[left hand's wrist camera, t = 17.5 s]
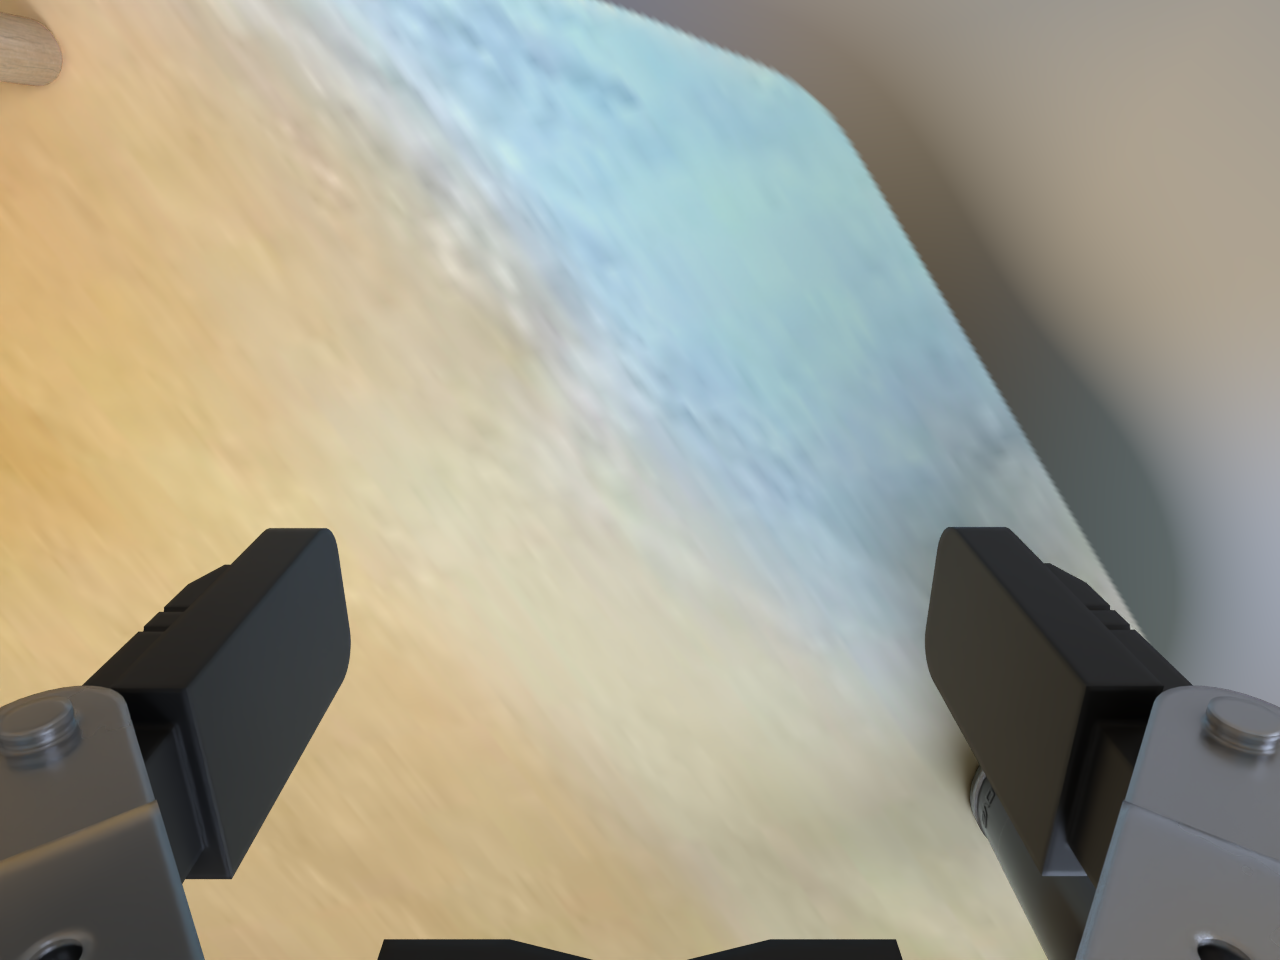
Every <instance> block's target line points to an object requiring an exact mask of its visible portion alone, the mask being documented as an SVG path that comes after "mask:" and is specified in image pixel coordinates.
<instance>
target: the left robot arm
mask: <svg viewBox="0 0 1280 960" xmlns="http://www.w3.org/2000/svg"><path fill="white" fill-rule="evenodd" d="M350 647H351V639H350V628H349V622H348V615H347V608H346V601H345V595H344V588H343V581H342V574H341V568H340V561H339V554H338V548H337V543H336V540H335V537H334V535H333V534H332V532H331V531H330V530H329V529H327V528H269V529H266V530H265V531H264V532H263V533H262V534H261V535H260V536H259V537H258V538H257V539H256V540H255V541H254V542H253V543H252V544H251V545H250V546H249V547H248V548H247V549H246V550H245V551H244V552H243V553H242V554H241V555H240V556H239V557H238V558H237V559H236V560H235V561H234V562H233V563H232V564H231V565H223V566H222V567H220V568H218V569H216V570H214V571H212V572H210V573H208V574H207V575H205V576H203V577H201V578H199V579H197V580H195V581H193V582H192V583H190V584H188V585H187V586H186V587H185V588H184V589H183V590H182V591H181V592H180V593H179V594H177V595H176V596H175V597H174V598H173V599H172V600H171V601H170V602H169V603H168V604H167V605H166V606H165V607H164V612H159V613H158V614H157V615H155V616H154V617H153V618H152V619H151V620H150V621H149V622H148V623H147V624H146V625H145V626H144V631H143V632H138V633H137V634H136V635H135V636H133V637H132V638H131V639H130V640H129V641H128V642H127V643H126V644H125V645H124V646H123V647H122V648H121V649H120V650H119V651H118V652H117V653H116V654H115V655H114V656H113V657H111V658H110V659H109V660H108V661H107V662H106V663H105V664H104V665H103V666H102V667H101V668H100V669H99V670H98V671H97V672H96V673H95V674H94V675H93V676H92V677H91V678H89V679H88V680H87V681H86V682H85V683H84V684H83V685H82V686H72V687H63V688H58V689H53V690H48V691H45V692H41V693H37V694H33V695H31V696H28V697H25V698H22V699H19V700H16V701H14V702H12V703H9V704H7V705H4V706H2V707H0V960H205V959H204V956H203V952H202V949H201V946H200V942H199V939H198V936H197V932H196V929H195V926H194V922H193V919H192V916H191V912H190V909H189V906H188V902H187V899H186V896H185V892H184V889H183V886H182V883H183V882H184V880H185V879H232V878H233V876H234V874H235V872H236V870H237V869H238V867H239V865H240V863H241V862H242V860H243V858H244V856H245V854H246V853H247V851H248V849H249V847H250V846H251V844H252V842H253V840H254V838H255V837H256V835H257V833H258V831H259V830H260V828H261V826H262V824H263V822H264V821H265V819H266V817H267V815H268V814H269V812H270V810H271V808H272V806H273V805H274V803H275V801H276V799H277V798H278V796H279V794H280V792H281V790H282V789H283V787H284V785H285V783H286V782H287V780H288V778H289V776H290V774H291V773H292V771H293V769H294V767H295V766H296V764H297V762H298V760H299V758H300V757H301V755H302V753H303V751H304V750H305V748H306V746H307V744H308V743H309V741H310V739H311V737H312V735H313V734H314V732H315V730H316V728H317V727H318V725H319V723H320V721H321V719H322V718H323V716H324V714H325V712H326V711H327V709H328V707H329V705H330V703H331V702H332V700H333V698H334V696H335V695H336V693H337V691H338V689H339V687H340V686H341V684H342V682H343V680H344V678H345V675H346V672H347V668H348V664H349V658H350ZM925 651H926V659H927V664H928V668H929V672H930V675H931V677H932V679H933V681H934V683H935V685H936V687H937V689H938V690H939V692H940V694H941V696H942V698H943V699H944V701H945V703H946V705H947V707H948V708H949V710H950V712H951V714H952V716H953V717H954V719H955V721H956V723H957V725H958V726H959V728H960V730H961V732H962V734H963V735H964V737H965V739H966V741H967V743H968V744H969V746H970V748H971V750H972V752H973V753H974V755H975V757H976V759H977V761H978V762H979V764H980V766H979V768H978V770H977V771H976V774H975V776H974V778H973V781H972V785H971V790H970V803H971V809H972V812H973V815H974V817H975V819H976V821H977V823H978V825H979V827H980V829H981V831H982V832H983V834H984V835H985V836H986V838H987V839H988V841H989V843H990V845H991V847H992V849H993V851H994V853H995V855H996V857H997V859H998V861H999V863H1000V865H1001V867H1002V869H1003V871H1004V873H1005V875H1006V877H1007V879H1008V881H1009V883H1010V885H1011V887H1012V889H1013V891H1014V893H1015V895H1016V897H1017V899H1018V901H1019V903H1020V905H1021V907H1022V909H1023V911H1024V913H1025V915H1026V917H1027V919H1028V921H1029V923H1030V924H1031V926H1032V928H1033V930H1034V932H1035V934H1036V936H1037V938H1038V940H1039V942H1040V944H1041V946H1042V948H1043V950H1044V952H1045V954H1046V956H1047V958H1048V960H1280V707H1278V706H1276V705H1273V704H1271V703H1268V702H1266V701H1264V700H1261V699H1258V698H1255V697H1252V696H1249V695H1247V694H1243V693H1239V692H1235V691H1232V690H1227V689H1222V688H1216V687H1208V686H1193V685H1192V684H1191V683H1190V682H1189V681H1188V680H1187V679H1186V678H1184V676H1182V675H1181V674H1180V673H1179V672H1178V671H1177V670H1176V669H1175V668H1174V667H1173V666H1172V665H1171V664H1170V663H1169V662H1168V661H1167V660H1166V659H1165V658H1164V657H1163V656H1162V655H1161V654H1160V653H1159V652H1158V651H1157V650H1155V649H1154V648H1153V647H1152V646H1151V645H1150V644H1149V643H1148V642H1147V641H1146V640H1145V639H1144V638H1143V637H1142V636H1141V635H1140V634H1139V633H1138V632H1137V631H1136V630H1130V625H1129V624H1128V623H1127V622H1126V621H1125V620H1124V619H1123V618H1122V617H1121V616H1120V615H1119V614H1118V613H1117V612H1116V611H1115V610H1110V605H1109V604H1108V603H1107V602H1106V601H1105V600H1104V599H1102V598H1101V597H1100V596H1099V595H1098V594H1097V593H1096V592H1095V591H1094V590H1093V589H1092V588H1091V587H1090V586H1089V585H1088V584H1087V583H1086V582H1084V581H1082V580H1080V579H1078V578H1076V577H1074V576H1072V575H1071V574H1069V573H1067V572H1065V571H1063V570H1061V569H1059V568H1058V567H1056V566H1054V565H1052V564H1050V563H1043V562H1042V561H1041V560H1040V559H1039V558H1038V557H1037V556H1036V555H1035V554H1034V553H1033V552H1032V551H1031V550H1030V549H1029V548H1028V547H1027V546H1026V545H1025V544H1024V543H1023V542H1022V541H1021V540H1020V539H1019V538H1018V537H1017V536H1016V535H1015V534H1014V533H1013V532H1012V531H1011V530H1010V529H1009V528H1006V527H948V528H946V529H945V530H944V531H943V533H942V535H941V537H940V540H939V544H938V549H937V556H936V563H935V570H934V576H933V583H932V590H931V597H930V604H929V611H928V617H927V624H926V632H925ZM378 960H591V959H587V958H583V957H579V956H575V955H571V954H567V953H563V952H559V951H555V950H551V949H547V948H542V947H538V946H534V945H530V944H526V943H522V942H518V941H514V940H510V939H384V941H383V944H382V947H381V950H380V953H379V957H378ZM689 960H902V957H901V953H900V950H899V947H898V944H897V941H896V939H770V940H766V941H762V942H758V943H754V944H750V945H746V946H742V947H738V948H733V949H729V950H725V951H721V952H717V953H713V954H709V955H705V956H701V957H697V958H693V959H689Z"/></svg>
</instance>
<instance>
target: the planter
mask: <svg viewBox="0 0 1280 960" xmlns="http://www.w3.org/2000/svg"><path fill="white" fill-rule="evenodd" d="M61 68H62V53H61V49H60V46H59V44H58V42H57V40H56V38H55V37H54V35H53V34H52V33H51V32H50V31H49V30H48V29H47V28H46V27H45V26H44V25H42V24H41V23H39V22H38V21H35V20H33V19H30V18H25V17H21V16H16V15H12V14H7V13H3V12H0V82H8V83H17V84H26V85H35V86H42V85H46V84H49V83H51V82H52V81H54V80H55V79H56V78H57V76H58V75H59V73H60V71H61Z"/></svg>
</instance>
